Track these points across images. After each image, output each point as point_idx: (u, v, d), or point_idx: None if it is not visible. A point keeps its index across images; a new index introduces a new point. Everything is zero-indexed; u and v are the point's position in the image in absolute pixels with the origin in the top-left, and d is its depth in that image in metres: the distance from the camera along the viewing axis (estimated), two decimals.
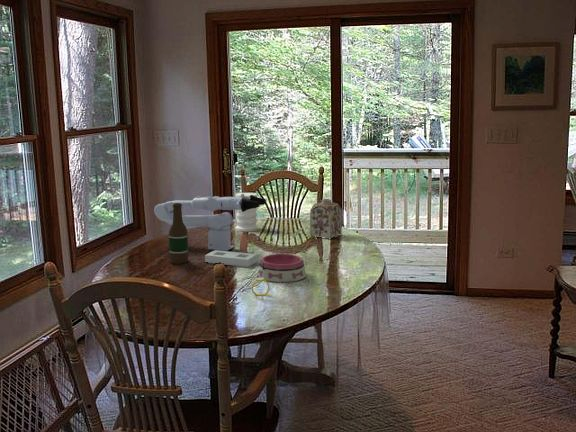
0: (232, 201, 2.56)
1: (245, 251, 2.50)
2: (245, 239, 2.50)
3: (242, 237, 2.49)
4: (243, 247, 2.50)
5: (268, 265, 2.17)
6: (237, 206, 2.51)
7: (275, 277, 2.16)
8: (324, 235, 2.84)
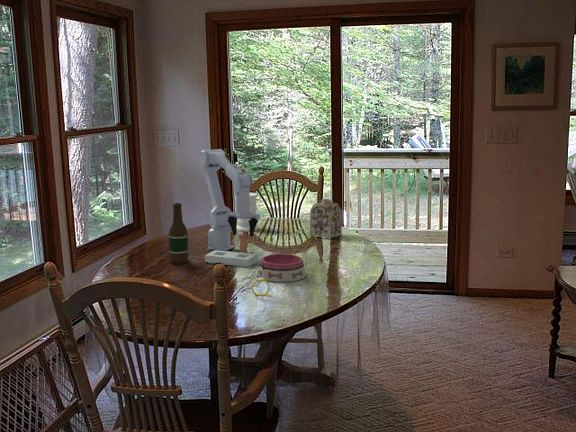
0: (236, 205, 2.47)
1: (245, 251, 2.50)
2: (245, 239, 2.50)
3: (242, 237, 2.49)
4: (243, 247, 2.50)
5: (268, 265, 2.17)
6: None
7: (275, 277, 2.16)
8: (324, 235, 2.84)
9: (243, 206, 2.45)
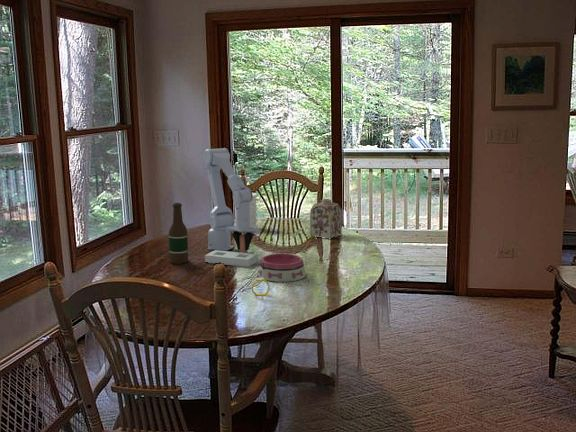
0: (236, 220, 2.49)
1: (245, 251, 2.50)
2: None
3: (242, 237, 2.49)
4: (243, 247, 2.50)
5: (268, 265, 2.18)
6: None
7: (275, 277, 2.16)
8: (324, 235, 2.84)
9: (243, 221, 2.46)
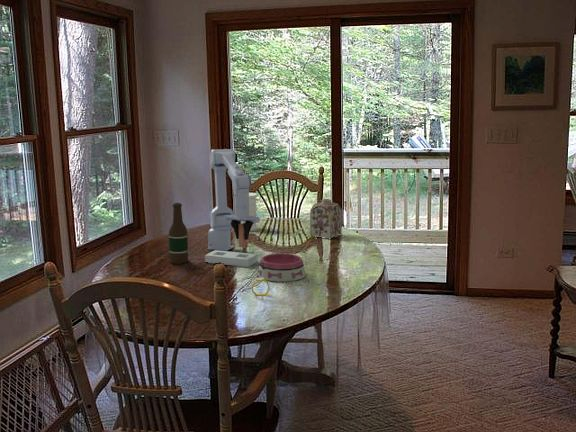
0: None
1: (244, 241, 2.39)
2: None
3: (242, 225, 2.37)
4: (242, 237, 2.38)
5: (268, 265, 2.18)
6: None
7: (274, 277, 2.16)
8: (324, 235, 2.84)
9: (242, 208, 2.34)
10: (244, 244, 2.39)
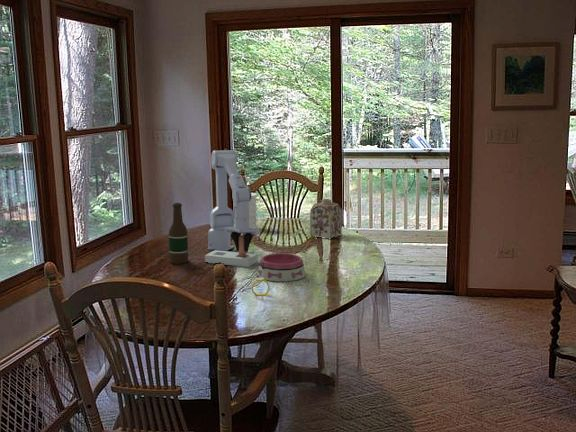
0: None
1: (244, 253, 2.40)
2: None
3: (242, 238, 2.38)
4: (242, 249, 2.39)
5: (267, 264, 2.18)
6: None
7: (274, 276, 2.16)
8: (324, 235, 2.84)
9: (242, 221, 2.35)
10: (244, 256, 2.40)
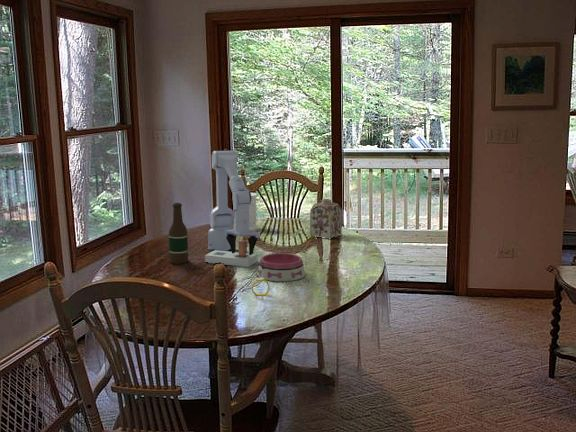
0: None
1: None
2: (244, 245, 2.39)
3: (242, 243, 2.38)
4: (242, 254, 2.39)
5: (267, 264, 2.18)
6: None
7: (274, 276, 2.17)
8: (324, 235, 2.84)
9: (242, 223, 2.35)
10: None
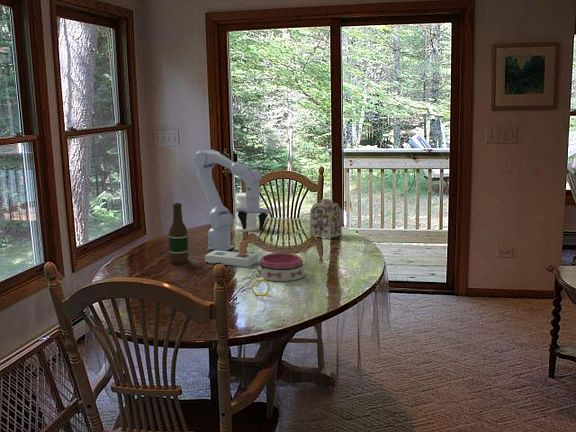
0: None
1: None
2: (244, 245, 2.39)
3: (242, 243, 2.38)
4: (242, 254, 2.39)
5: (267, 264, 2.18)
6: None
7: (274, 276, 2.17)
8: (324, 235, 2.84)
9: (253, 201, 2.49)
10: None
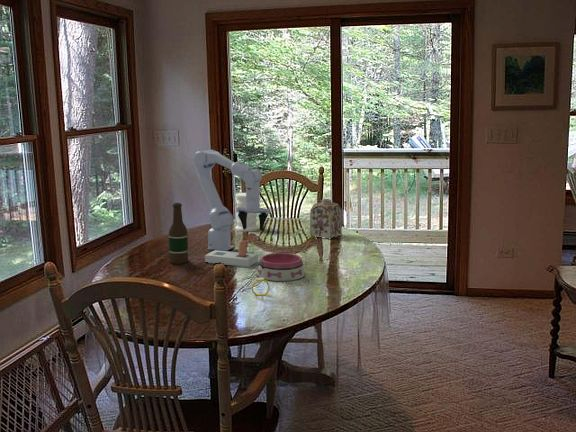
0: (246, 200, 2.52)
1: None
2: (244, 245, 2.39)
3: (242, 243, 2.38)
4: (242, 254, 2.39)
5: (267, 264, 2.19)
6: None
7: (274, 276, 2.17)
8: (324, 235, 2.84)
9: (253, 201, 2.50)
10: None
